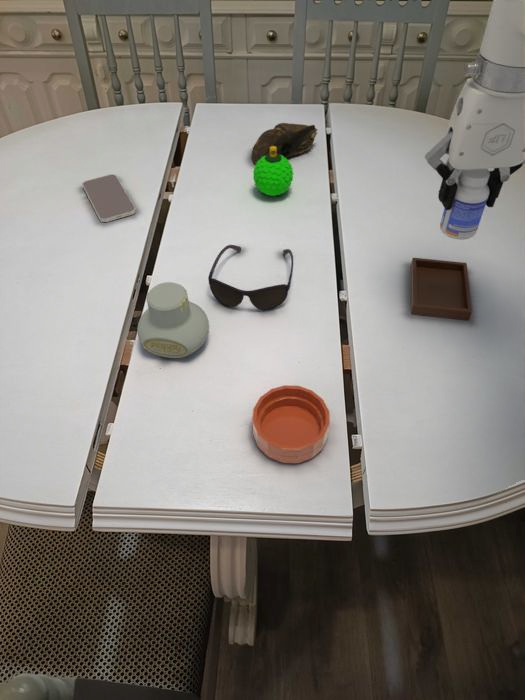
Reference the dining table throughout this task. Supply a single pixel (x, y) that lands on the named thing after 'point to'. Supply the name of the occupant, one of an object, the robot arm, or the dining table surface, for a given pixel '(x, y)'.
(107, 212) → the smartphone
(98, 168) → the dining table surface
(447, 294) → the tray
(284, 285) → the sunglasses
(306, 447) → the bowl
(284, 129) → the brown curved chunk
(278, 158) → the ornament
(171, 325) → the air freshener
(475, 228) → the pill bottle
